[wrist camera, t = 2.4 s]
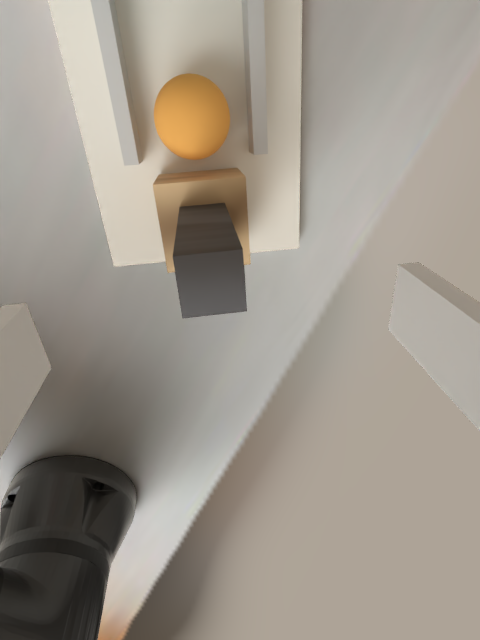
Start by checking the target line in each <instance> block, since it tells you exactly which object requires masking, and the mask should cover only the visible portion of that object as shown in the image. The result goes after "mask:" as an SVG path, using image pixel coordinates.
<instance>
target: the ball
mask: <svg viewBox="0 0 480 640" xmlns="http://www.w3.org/2000/svg"><path fill="white" fill-rule="evenodd" d="M154 122H155V127H156V130H157V133H158V135H159V137H160V139H161V140H162V142H163V143H164V145H165V146H166V147H167V148H168V149H169V150H170V151H171V152H173V153H174V154H176V155H177V156H179V157H182V158H185V159H190V160H199V159H204V158H207V157H209V156H211V155H212V154H214V153H215V152H216V151H217V150H219V148H220V147H221V146H222V145H223V143H224V141H225V139H226V137H227V135H228V132H229V127H230V112H229V107H228V104H227V101H226V99H225V97H224V95H223V93H222V92H221V90H220V89H219V88H218V86H217V85H216V84H214V83H213V82H212V81H211V80H209V79H208V78H206V77H204V76H201V75H198V74H191V73H187V74H181V75H178V76H176V77H174V78H172V79H171V80H169V81H168V82H167V83H166V84H165V85H164V86H163V87H162V88H161V90H160V92H159V93H158V96H157V98H156V101H155V106H154Z"/></svg>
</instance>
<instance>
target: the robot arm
mask: <svg viewBox="0 0 480 640" xmlns="http://www.w3.org/2000/svg"><path fill="white" fill-rule="evenodd" d="M388 330H389V331H390V332H391V333H392V334H393V335H394V337H395V338H396V339H397V340H398V341H399V342H400V343H401V344H402V345H403V347H404V348H405V349H406V350H407V351H408V352H409V353H410V354H411V355H412V357H413V358H414V359H415V360H416V361H417V362H418V363H419V364H420V365H421V367H422V368H423V369H424V370H425V371H426V372H427V373H428V374H429V375H430V376H431V378H432V379H433V380H434V381H435V382H436V383H437V384H438V385H439V387H440V388H441V389H442V390H443V391H444V392H445V393H446V394H447V395H448V397H449V398H450V399H451V400H452V401H453V402H454V403H455V404H456V405H457V406H458V408H459V409H460V410H461V411H462V412H463V413H464V414H465V415H466V416H467V418H468V419H469V420H470V421H471V422H472V423H473V424H474V425H475V426H476V428H477V429H478V430H479V431H480V302H478V301H477V300H475V299H474V298H472V297H470V296H469V295H467V294H466V293H464V292H463V291H461V290H460V289H458V288H457V287H455V286H454V285H452V284H451V283H449V282H448V281H446V280H445V279H443V278H442V277H440V276H438V275H437V274H436V273H434V272H433V271H431V270H429V269H428V268H427V267H425V266H424V265H422V264H421V263H419V262H417V263H407V264H398V269H397V276H396V282H395V289H394V295H393V301H392V308H391V314H390V320H389V327H388ZM51 368H52V367H51V365H50V362H49V360H48V357H47V354H46V352H45V349H44V347H43V344H42V342H41V339H40V337H39V334H38V332H37V329H36V327H35V324H34V322H33V319H32V317H31V314H30V312H29V309H28V307H27V304H26V303H19V304H9V305H3V306H1V307H0V458H1V457H2V455H3V453H4V451H5V450H6V448H7V446H8V444H9V442H10V441H11V439H12V437H13V435H14V434H15V432H16V430H17V428H18V427H19V425H20V423H21V421H22V420H23V418H24V416H25V414H26V412H27V411H28V409H29V407H30V405H31V404H32V402H33V400H34V398H35V397H36V395H37V393H38V391H39V389H40V388H41V386H42V384H43V382H44V381H45V379H46V377H47V375H48V374H49V372H50V370H51ZM136 499H137V495H136V490H135V487H134V485H133V483H132V482H131V480H130V479H129V478H128V477H127V476H126V475H125V474H124V473H123V472H122V471H120V470H119V469H117V468H116V467H114V466H112V465H110V464H108V463H105V462H103V461H100V460H96V459H92V458H87V457H80V456H59V457H52V458H47V459H43V460H40V461H37V462H35V463H32V464H30V465H28V466H27V467H25V468H24V469H22V470H21V471H20V472H19V473H18V474H17V475H16V476H15V477H14V478H13V480H12V482H11V484H10V486H9V488H8V490H7V492H6V494H5V496H4V498H3V501H2V505H1V512H0V640H97V639H98V633H99V628H100V622H101V616H102V610H103V605H104V599H105V593H106V588H107V581H108V576H109V571H110V566H111V563H112V561H113V559H114V557H115V555H116V553H117V551H118V550H119V548H120V546H121V544H122V542H123V540H124V538H125V536H126V534H127V532H128V529H129V527H130V525H131V523H132V521H133V518H134V513H135V507H136Z"/></svg>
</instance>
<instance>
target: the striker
mask: <svg viewBox="0 0 480 640" xmlns="http://www.w3.org/2000/svg"><path fill="white" fill-rule="evenodd" d="M153 191H154V196H155V202H156V208H157V214H158V219H159V225H160V231H161V237H162V243H163V248H164V254H165V260H166V266H167V271H168V273H170V272H175V274H176V280H177V287H178V293H179V299H180V305H181V311H182V317H183V318H190V317H199V316H208V315H217V314H226V313H235V312H244V311H247V305H246V290H245V274H244V265H247V264H250V246H249V227H248V209H247V191H246V177H245V175H244V174H243V173H242V172H241V171H240V170H239V169H238V168H228V169H217V170H205V171H193V172H182V173H170V174H159V175H158V176H157V178H156V180H155V182H154V183H153Z"/></svg>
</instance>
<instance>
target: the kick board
mask: <svg viewBox="0 0 480 640" xmlns="http://www.w3.org/2000/svg"><path fill="white" fill-rule="evenodd" d="M48 3H49V7H50V11H51V15H52V19H53V23H54V27H55V31H56V35H57V39H58V43H59V47H60V51H61V56H62V60H63V64H64V68H65V72H66V76H67V80H68V84H69V88H70V92H71V96H72V100H73V104H74V108H75V112H76V116H77V120H78V124H79V128H80V132H81V136H82V140H83V144H84V148H85V152H86V156H87V160H88V164H89V168H90V172H91V176H92V181H93V185H94V189H95V193H96V197H97V201H98V205H99V209H100V213H101V217H102V221H103V225H104V229H105V233H106V237H107V241H108V245H109V249H110V253H111V257H112V261H113V265H114V267H119V266H129V265H139V264H148V263H158V262H166V260H165V254H164V248H163V243H162V237H161V231H160V225H159V219H158V214H157V208H156V202H155V196H154V191H153V183H154V182H155V180H156V178H157V176H158V175H159V174H170V173H182V172H193V171H205V170H217V169H228V168H238V169H239V170H240V171H241V172H242V173H243V174H244V175H245V177H246V191H247V209H248V227H249V246H250V253H257V252H267V251H276V250H286V249H296V248H299V219H300V144H301V69H302V0H48ZM187 73H191V74H198V75H201V76H204V77H206V78H208V79H209V80H211V81H212V82H213V83H214V84H216V85H217V86H218V88H219V89H220V90H221V92H222V93H223V95H224V97H225V99H226V101H227V104H228V107H229V112H230V127H229V132H228V135H227V137H226V139H225V141H224V143H223V145H222V146H221V147H220V148H219V150H217V151H216V152H215V153H214V154H212V155H211V156H209V157H207V158H204V159H199V160H190V159H185V158H182V157H179V156H177V155H176V154H174V153H173V152H171V151H170V150H169V149H168V148H167V147H166V146H165V145H164V143H163V142H162V140H161V139H160V137H159V135H158V133H157V130H156V127H155V122H154V106H155V101H156V98H157V96H158V93H159V92H160V90H161V88H162V87H163V86H164V85H165V84H166V83H167V82H168V81H169V80H171V79H172V78H174V77H176V76H178V75H181V74H187Z"/></svg>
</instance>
